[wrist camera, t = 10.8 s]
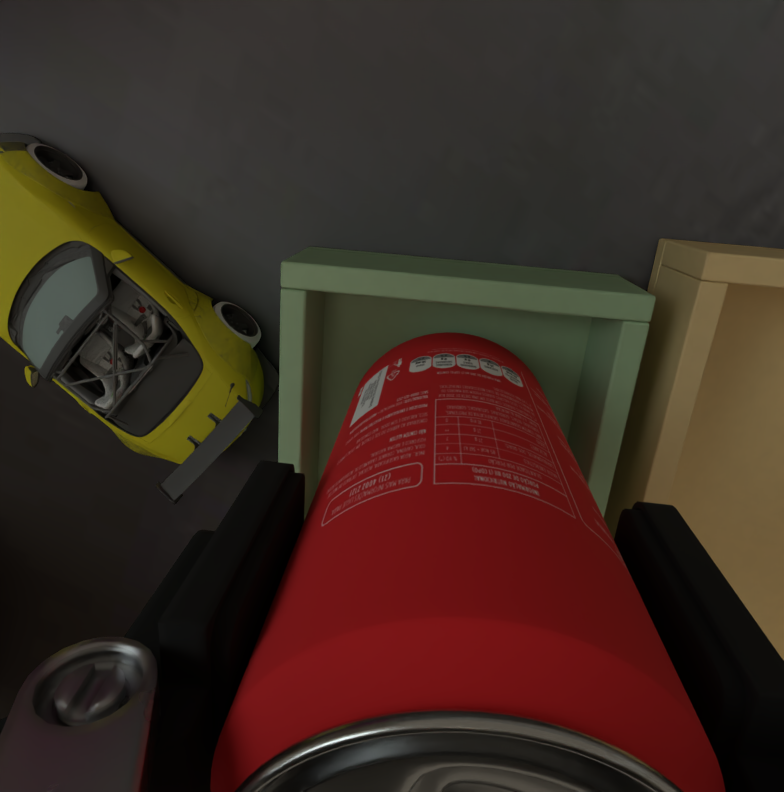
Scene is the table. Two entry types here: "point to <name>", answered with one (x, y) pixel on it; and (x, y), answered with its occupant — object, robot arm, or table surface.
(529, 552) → the beverage can
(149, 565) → the table surface
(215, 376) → the toy car
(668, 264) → the box tray
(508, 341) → the can tray
